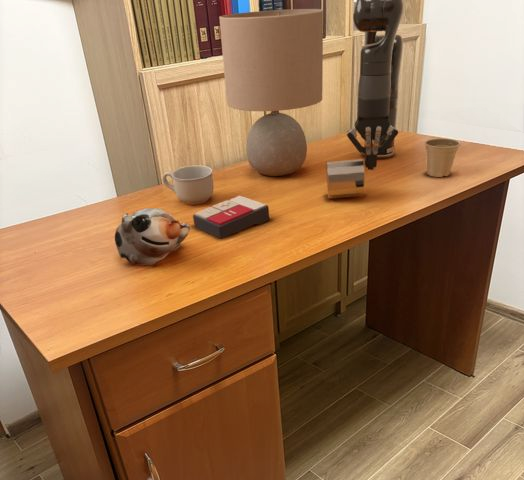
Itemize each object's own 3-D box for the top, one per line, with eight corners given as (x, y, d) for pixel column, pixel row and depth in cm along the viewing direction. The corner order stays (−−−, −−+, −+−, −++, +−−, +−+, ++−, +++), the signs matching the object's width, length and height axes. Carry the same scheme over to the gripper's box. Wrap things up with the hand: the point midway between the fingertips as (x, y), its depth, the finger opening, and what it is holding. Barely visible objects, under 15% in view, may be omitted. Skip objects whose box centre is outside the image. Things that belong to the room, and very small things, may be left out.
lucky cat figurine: (183, 238, 124) (193, 192, 113) (181, 279, 117) (192, 234, 106) (116, 227, 120) (120, 179, 109) (110, 268, 114) (114, 221, 102)
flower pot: (452, 168, 156) (456, 137, 151) (458, 178, 148) (463, 146, 143) (419, 169, 157) (422, 138, 152) (423, 179, 149) (427, 147, 144)
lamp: (325, 158, 172) (326, 7, 148) (317, 185, 150) (318, 13, 127) (243, 159, 176) (232, 12, 153) (224, 185, 155) (208, 19, 131)
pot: (360, 187, 146) (360, 153, 141) (365, 202, 136) (365, 166, 131) (326, 190, 147) (325, 156, 141) (329, 205, 137) (328, 170, 132)
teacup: (222, 196, 147) (219, 166, 143) (202, 209, 139) (199, 178, 135) (179, 191, 152) (175, 163, 148) (158, 204, 144) (153, 174, 140)
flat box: (191, 212, 128) (239, 192, 135) (194, 229, 130) (242, 209, 137) (219, 223, 121) (268, 202, 128) (221, 241, 123) (270, 219, 130)
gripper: (399, 90, 130) (394, 163, 139) (344, 93, 131) (342, 166, 140) (405, 96, 123) (399, 172, 133) (347, 99, 124) (345, 174, 134)
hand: (370, 168), depth 137 cm, fingers closed
